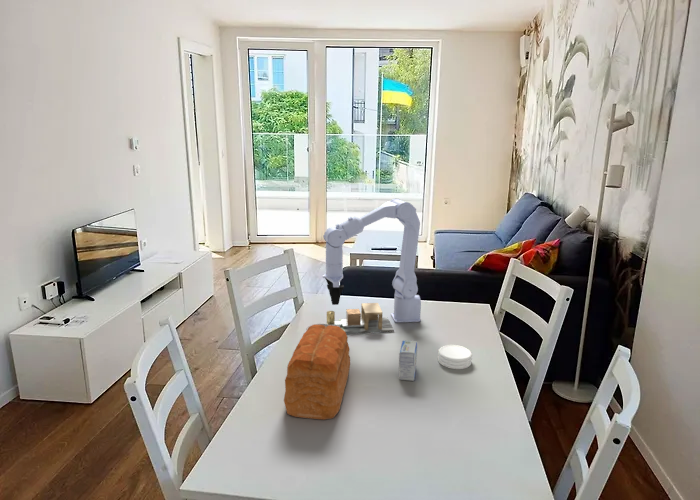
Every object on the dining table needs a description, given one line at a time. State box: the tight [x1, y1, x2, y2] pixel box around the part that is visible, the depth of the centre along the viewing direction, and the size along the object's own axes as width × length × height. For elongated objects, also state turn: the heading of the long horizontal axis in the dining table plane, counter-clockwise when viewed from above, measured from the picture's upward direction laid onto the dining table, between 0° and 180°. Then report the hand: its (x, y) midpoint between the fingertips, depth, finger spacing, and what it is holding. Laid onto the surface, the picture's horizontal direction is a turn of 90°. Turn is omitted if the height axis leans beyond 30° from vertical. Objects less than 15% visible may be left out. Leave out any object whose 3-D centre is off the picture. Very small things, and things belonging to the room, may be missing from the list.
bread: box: [283, 324, 351, 421], centre depth 128 cm, size 14×27×15 cm, turn 173°
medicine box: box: [398, 339, 418, 382], centre depth 138 cm, size 8×4×9 cm, turn 168°
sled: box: [326, 308, 365, 327], centre depth 169 cm, size 13×6×5 cm, turn 97°
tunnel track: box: [338, 302, 395, 335], centre depth 170 cm, size 18×11×7 cm, turn 97°
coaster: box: [437, 344, 473, 370], centre depth 146 cm, size 10×10×4 cm
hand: (334, 300), depth 168 cm, fingers open, 7 cm apart
